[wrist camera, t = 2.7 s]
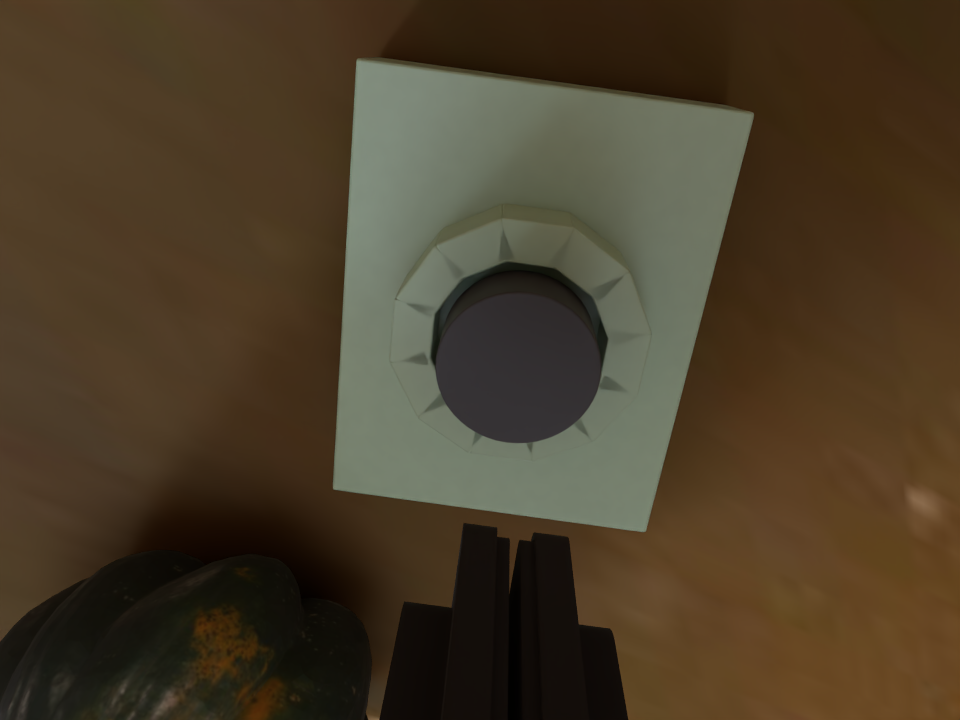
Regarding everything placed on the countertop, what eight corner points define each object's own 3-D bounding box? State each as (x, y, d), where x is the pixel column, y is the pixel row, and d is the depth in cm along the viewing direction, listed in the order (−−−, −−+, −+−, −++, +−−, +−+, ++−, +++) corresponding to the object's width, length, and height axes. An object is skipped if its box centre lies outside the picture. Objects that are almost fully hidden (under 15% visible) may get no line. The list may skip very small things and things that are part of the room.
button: (451, 259, 20) (444, 280, 19) (608, 281, 20) (616, 304, 19) (435, 400, 22) (427, 432, 20) (580, 419, 22) (585, 454, 20)
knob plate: (376, 56, 23) (339, 58, 18) (727, 105, 23) (779, 119, 18) (350, 447, 28) (317, 524, 24) (633, 486, 28) (655, 571, 24)
